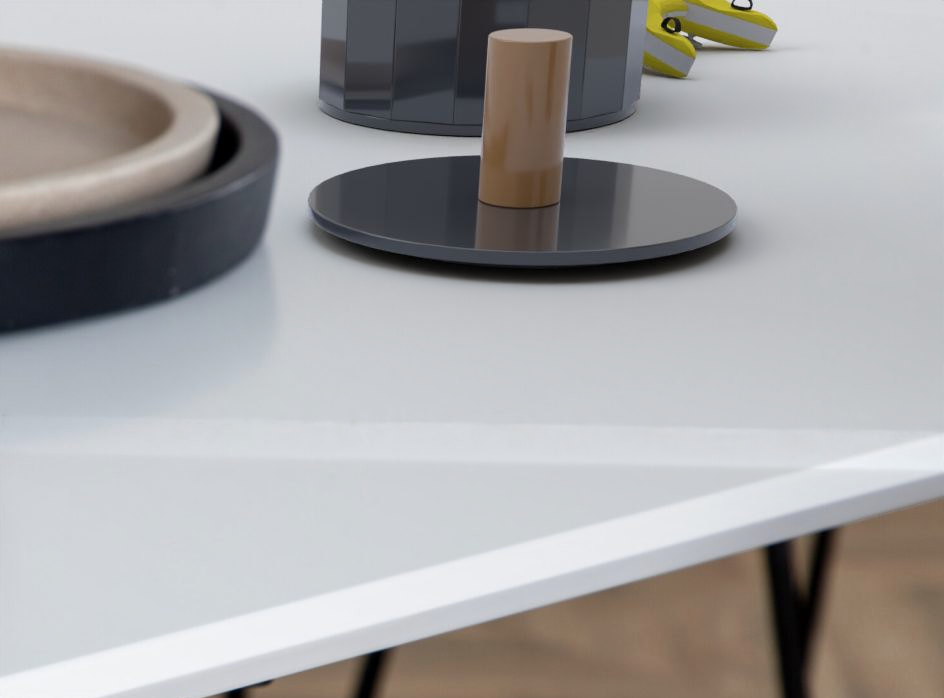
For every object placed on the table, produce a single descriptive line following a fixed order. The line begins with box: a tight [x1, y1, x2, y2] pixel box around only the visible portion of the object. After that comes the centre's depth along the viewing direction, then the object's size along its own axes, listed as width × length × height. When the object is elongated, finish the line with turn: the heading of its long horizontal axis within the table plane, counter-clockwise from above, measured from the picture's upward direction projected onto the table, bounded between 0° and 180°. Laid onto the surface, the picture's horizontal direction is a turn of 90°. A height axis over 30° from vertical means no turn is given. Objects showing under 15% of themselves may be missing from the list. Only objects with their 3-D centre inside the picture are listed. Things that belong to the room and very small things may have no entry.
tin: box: [318, 0, 649, 137], centre depth 105 cm, size 15×15×8 cm
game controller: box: [643, 0, 778, 78], centre depth 116 cm, size 10×6×4 cm, turn 139°
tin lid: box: [306, 28, 739, 269], centre depth 84 cm, size 16×16×7 cm
